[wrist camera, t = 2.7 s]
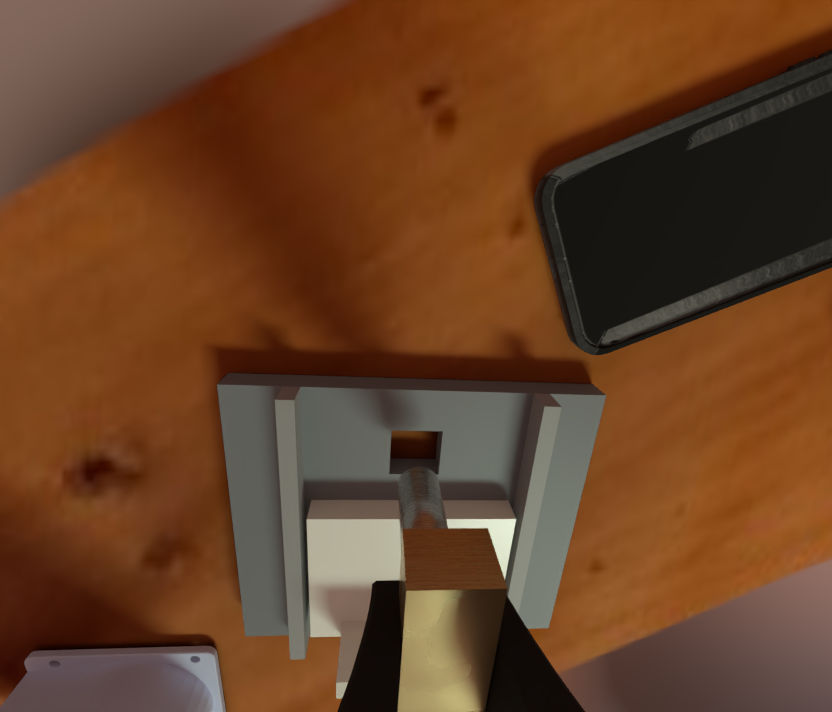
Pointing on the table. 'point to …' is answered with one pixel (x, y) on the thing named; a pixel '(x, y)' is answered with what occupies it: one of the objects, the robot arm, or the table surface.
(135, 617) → the table surface
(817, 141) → the phone
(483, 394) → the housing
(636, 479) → the table surface
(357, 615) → the cover
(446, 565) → the hammer
